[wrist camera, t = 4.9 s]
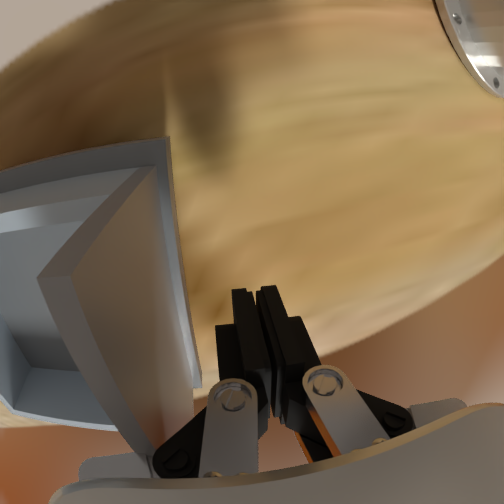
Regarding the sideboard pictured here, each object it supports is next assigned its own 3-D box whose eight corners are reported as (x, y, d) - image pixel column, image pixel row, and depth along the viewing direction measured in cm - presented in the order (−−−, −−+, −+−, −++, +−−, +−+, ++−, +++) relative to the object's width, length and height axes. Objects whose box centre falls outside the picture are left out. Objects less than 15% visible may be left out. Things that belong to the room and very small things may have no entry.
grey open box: (177, 130, 13) (79, 206, 3) (200, 336, 19) (210, 509, 9) (-7, 168, 12) (-149, 263, 2) (50, 338, 18) (0, 471, 8)
